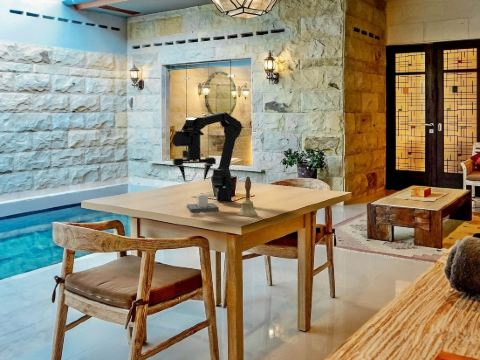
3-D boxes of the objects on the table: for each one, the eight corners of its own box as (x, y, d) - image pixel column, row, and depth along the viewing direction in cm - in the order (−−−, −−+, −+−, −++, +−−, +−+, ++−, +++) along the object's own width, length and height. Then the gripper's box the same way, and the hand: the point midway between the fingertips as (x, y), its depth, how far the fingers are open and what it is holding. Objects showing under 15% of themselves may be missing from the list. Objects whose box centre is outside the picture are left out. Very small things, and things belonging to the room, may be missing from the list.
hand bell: (256, 212, 221) (256, 175, 219) (258, 216, 212) (258, 177, 210) (237, 212, 220) (237, 175, 218) (237, 216, 212) (237, 178, 210)
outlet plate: (213, 206, 236) (213, 202, 236) (218, 211, 225) (218, 207, 224) (186, 207, 233) (186, 203, 233) (191, 212, 222) (191, 208, 221)
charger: (206, 207, 231) (205, 194, 230) (207, 209, 227) (207, 195, 227) (197, 208, 230) (197, 194, 229) (198, 209, 226) (198, 195, 226)
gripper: (210, 144, 242) (211, 177, 244) (170, 145, 238) (171, 178, 240) (215, 145, 232) (216, 180, 234) (174, 146, 227) (174, 181, 229)
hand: (194, 180), depth 234 cm, fingers open, 9 cm apart
